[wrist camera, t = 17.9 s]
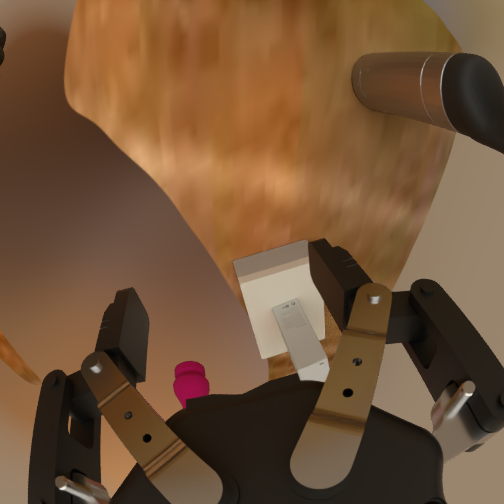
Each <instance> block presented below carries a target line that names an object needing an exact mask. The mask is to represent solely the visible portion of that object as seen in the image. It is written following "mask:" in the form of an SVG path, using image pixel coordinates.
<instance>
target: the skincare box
mask: <svg viewBox="0 0 504 504" xmlns="http://www.w3.org/2000/svg"><path fill="white" fill-rule="evenodd" d="M272 310H273V313H274V315H275V318H276V321H277V324H278V326H279V329H280V332H281V334H282V337H283V340H284V342H285V345H286V347H287V350H288V352H289V354H290V357H291V359H292V362H293V364H294V367H295V369H296V371H297V373H298V375H299V378H300V380H314V381H321V382H324V381H326V378H327V375H328V373H329V370H330V368H329V364H328V359H327V356H326V354H325V351H324V349H323V347H322V346H321V344H320V342H319V340H318V338H317V336H316V334H315V332H314V330H313V328H312V326H311V324H310V322H309V320H308V318H307V316H306V314H305V313H304V311H303V309H302V307H301V305H300V303H299V301H298V299H295V300H292V301H290V302H288V303H285V304H282V305H280V306H277V307H275V308H273V309H272Z"/></svg>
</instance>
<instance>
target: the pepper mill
mask: <svg viewBox="0 0 504 504" xmlns="http://www.w3.org/2000/svg"><path fill="white" fill-rule="evenodd" d="M175 378H176V379H175V381H174V384H173V388H174V392H175V395H176V396H177V398H178V400H179V401H180V403H181V404H182V406H183V409H184V408H186V399H190V398H196V397H201V396H206V395H209V390H210V389H209V382H208V380H207V379H206V378H205V369H204V367H203V366H202V365H201V364H200V363H198V362H194V361H186V362H182V363H180V364H178V365H177V366H176V368H175Z"/></svg>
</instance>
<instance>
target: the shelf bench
mask: <svg viewBox="0 0 504 504" xmlns="http://www.w3.org/2000/svg"><path fill="white" fill-rule="evenodd" d="M233 265H234V268H235V272H236V275H237V278H238V281H239V284H240V288H241V291H242V295H243V298H244V301H245V305H246V308H247V311H248V315H249V318H250V322H251V325H252V328H253V332H254V336H255V339H256V342H257V345H258V348H259V351H260V355H261V358H262V359H265V358H269V357H272V356H275V355H278V354H281V353H284V352H287V351H288V350H287V347H286V345H285V342H284V340H283V337H282V334H281V332H280V329H279V326H278V324H277V321H276V318H275V315H274V313H273V310H272V309H273V308H275V307H277V306H280V305H282V304H285V303H288V302H290V301H292V300H295V299H298V301H299V303H300V305H301V307H302V309H303V311H304V313H305V314H306V316H307V318H308V320H309V322H310V324H311V326H312V328H313V330H314V332H315V334H316V336H317V338H318V340H322V339H325V323H324V301H323V299H322V297H321V295H320V294H319V292H318V290H317V288H316V287H315V285H314V283H313V281H312V278H311V275H310V268H309V255H308V241H307V240H306V239H305V240H301V241H298V242H295V243H291V244H288V245H284V246H281V247H278V248H274V249H271V250H267V251H264V252H261V253H257V254H254V255H251V256H247V257H244V258H240V259H237V260H234V261H233Z"/></svg>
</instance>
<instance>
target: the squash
mask: <svg viewBox="0 0 504 504" xmlns="http://www.w3.org/2000/svg"><path fill="white" fill-rule="evenodd" d="M5 41H6V33H5V31H4V30H3V29H2V28H1V27H0V65H1V64H2V62H3V60H4V52H3V48H4V45H5Z"/></svg>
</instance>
